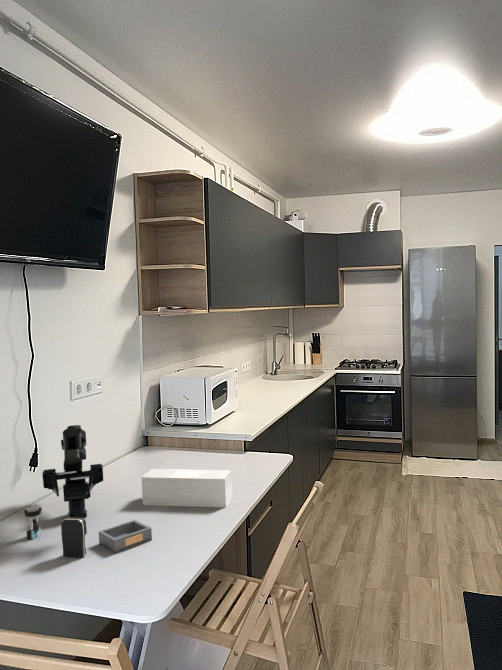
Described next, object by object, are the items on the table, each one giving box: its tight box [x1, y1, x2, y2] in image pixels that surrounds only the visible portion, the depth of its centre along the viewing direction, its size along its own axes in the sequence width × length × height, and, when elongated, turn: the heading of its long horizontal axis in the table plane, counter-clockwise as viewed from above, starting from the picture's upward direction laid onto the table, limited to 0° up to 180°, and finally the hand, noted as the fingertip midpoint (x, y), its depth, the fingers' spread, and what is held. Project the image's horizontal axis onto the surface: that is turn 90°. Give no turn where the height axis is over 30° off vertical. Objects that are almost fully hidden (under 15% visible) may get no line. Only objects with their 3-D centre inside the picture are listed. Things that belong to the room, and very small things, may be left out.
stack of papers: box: [140, 468, 233, 508], centre depth 215 cm, size 32×11×11 cm, turn 80°
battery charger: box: [60, 516, 88, 558], centre depth 171 cm, size 7×4×11 cm, turn 80°
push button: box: [23, 504, 43, 540], centre depth 187 cm, size 7×5×10 cm
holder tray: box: [98, 519, 153, 554], centre depth 179 cm, size 10×13×4 cm
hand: (73, 493), depth 179 cm, fingers open, 9 cm apart
